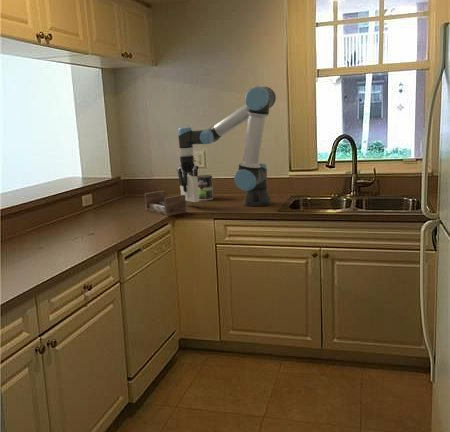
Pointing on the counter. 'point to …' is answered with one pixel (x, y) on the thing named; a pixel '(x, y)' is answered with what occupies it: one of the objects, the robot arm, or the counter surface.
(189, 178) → the door panel
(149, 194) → the door track
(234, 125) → the robot arm
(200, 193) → the coffee can
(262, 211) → the counter surface
